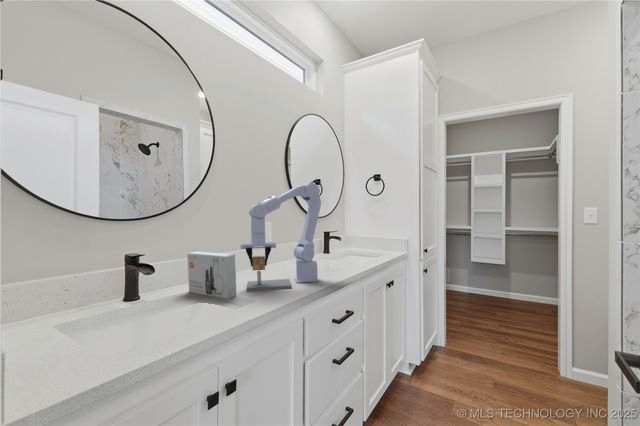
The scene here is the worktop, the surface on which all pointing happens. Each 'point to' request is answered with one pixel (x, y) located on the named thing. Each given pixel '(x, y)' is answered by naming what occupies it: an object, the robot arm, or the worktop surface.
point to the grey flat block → (267, 284)
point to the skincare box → (212, 274)
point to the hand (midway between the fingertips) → (258, 265)
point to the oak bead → (258, 263)
